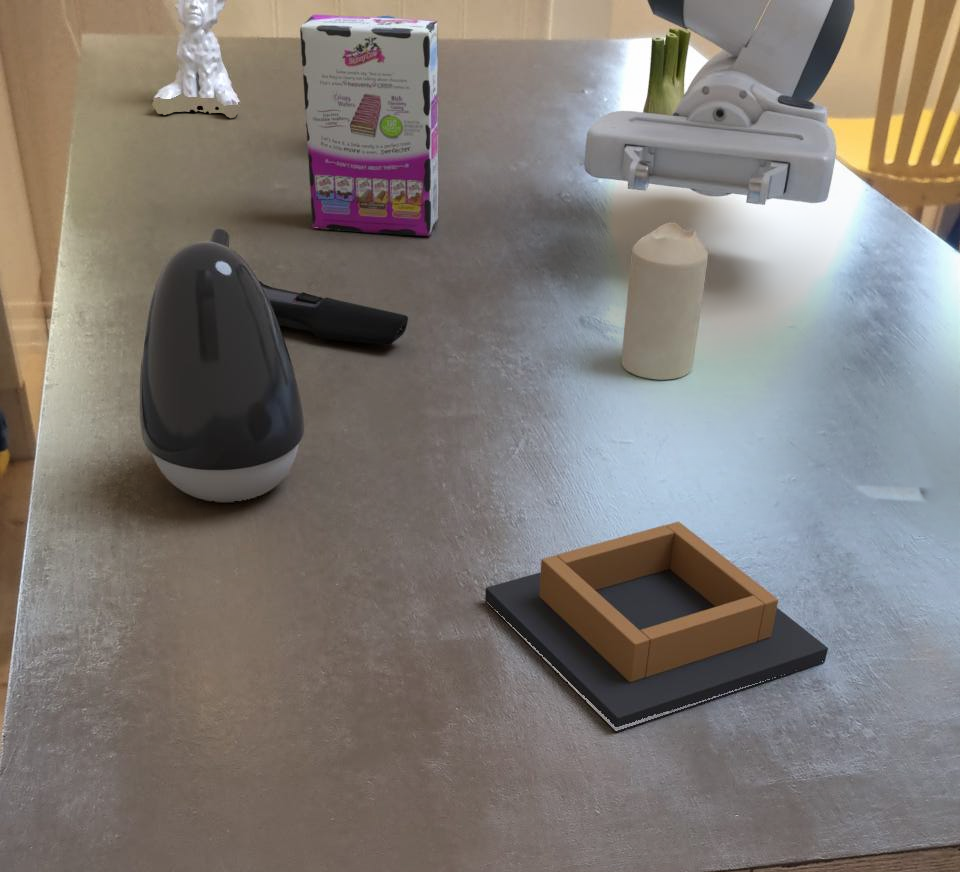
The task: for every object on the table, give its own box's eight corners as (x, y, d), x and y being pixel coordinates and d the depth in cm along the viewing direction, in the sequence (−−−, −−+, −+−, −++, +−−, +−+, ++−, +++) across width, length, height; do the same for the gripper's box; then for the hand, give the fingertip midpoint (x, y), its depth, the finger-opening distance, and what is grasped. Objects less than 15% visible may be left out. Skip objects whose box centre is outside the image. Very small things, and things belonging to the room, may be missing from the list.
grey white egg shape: (317, 449, 93) (303, 216, 83) (296, 525, 86) (278, 279, 75) (168, 443, 94) (135, 209, 83) (134, 519, 86) (94, 272, 76)
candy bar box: (439, 220, 127) (440, 18, 116) (430, 238, 124) (431, 32, 113) (322, 211, 128) (311, 10, 117) (309, 229, 125) (298, 23, 114)
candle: (619, 349, 107) (632, 215, 100) (690, 352, 107) (707, 218, 100) (622, 379, 103) (635, 241, 96) (695, 382, 103) (714, 244, 96)
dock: (680, 546, 85) (687, 495, 83) (825, 662, 76) (838, 609, 74) (484, 601, 80) (486, 549, 78) (615, 733, 71) (622, 678, 69)
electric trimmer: (394, 364, 104) (394, 323, 102) (219, 323, 109) (216, 283, 106) (416, 346, 107) (416, 306, 105) (244, 307, 111) (241, 267, 109)
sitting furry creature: (151, 116, 149) (135, -12, 141) (167, 94, 155) (153, -29, 147) (238, 120, 149) (227, -8, 141) (251, 98, 155) (241, -26, 147)
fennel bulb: (643, 171, 140) (657, 37, 132) (622, 156, 143) (634, 25, 135) (693, 165, 141) (710, 33, 133) (671, 151, 145) (686, 21, 136)
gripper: (604, 82, 116) (569, 127, 106) (847, 108, 113) (834, 157, 103) (597, 161, 121) (563, 212, 111) (831, 189, 117) (817, 243, 107)
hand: (696, 186), depth 107 cm, fingers open, 8 cm apart
